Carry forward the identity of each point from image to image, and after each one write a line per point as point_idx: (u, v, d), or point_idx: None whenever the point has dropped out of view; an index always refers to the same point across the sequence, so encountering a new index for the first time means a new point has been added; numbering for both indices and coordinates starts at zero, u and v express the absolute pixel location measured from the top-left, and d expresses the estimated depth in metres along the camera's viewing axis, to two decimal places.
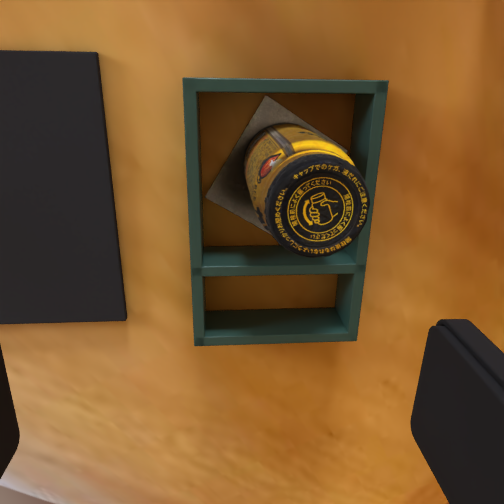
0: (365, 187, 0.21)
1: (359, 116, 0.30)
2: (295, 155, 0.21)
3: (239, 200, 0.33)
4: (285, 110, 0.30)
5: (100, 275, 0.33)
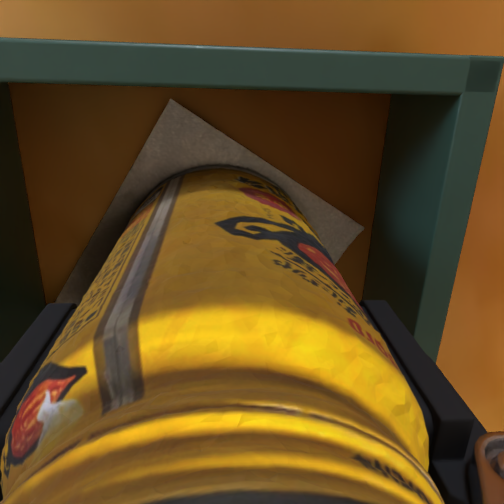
0: None
1: (402, 150, 0.12)
2: (109, 445, 0.04)
3: None
4: (220, 136, 0.13)
5: None
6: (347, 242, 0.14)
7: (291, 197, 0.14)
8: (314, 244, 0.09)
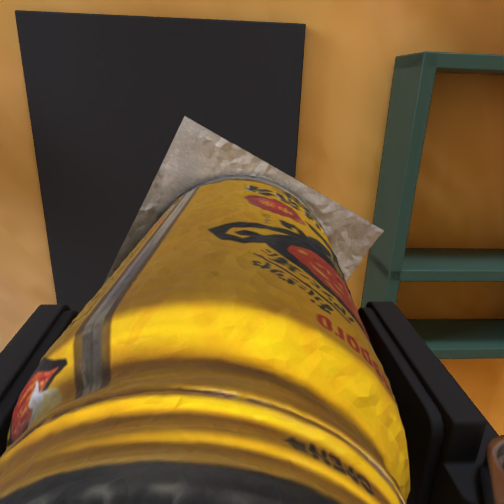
0: None
1: None
2: (65, 424, 0.04)
3: None
4: (234, 148, 0.13)
5: None
6: (367, 246, 0.14)
7: (307, 203, 0.14)
8: (310, 246, 0.09)
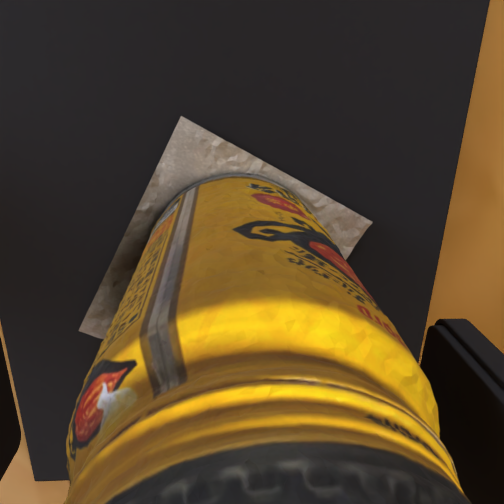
0: None
1: None
2: (165, 418, 0.05)
3: None
4: (230, 147, 0.14)
5: None
6: (357, 237, 0.15)
7: (300, 198, 0.14)
8: (324, 241, 0.09)
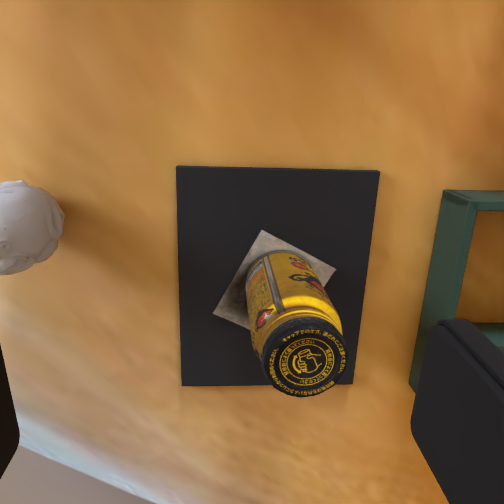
0: (343, 343, 0.25)
1: None
2: (284, 315, 0.26)
3: (243, 313, 0.37)
4: (279, 240, 0.35)
5: None
6: (330, 275, 0.36)
7: (306, 259, 0.36)
8: (314, 280, 0.31)
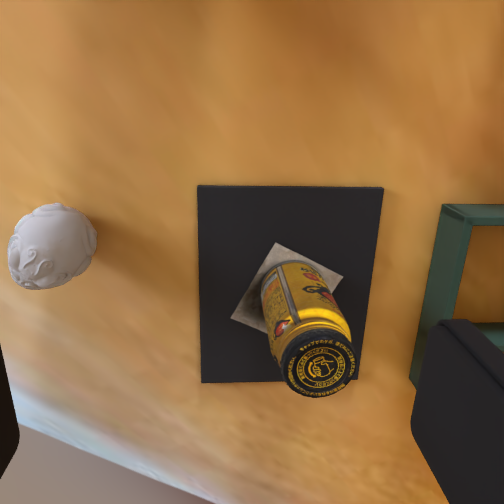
0: (352, 351, 0.29)
1: None
2: (300, 326, 0.29)
3: (258, 318, 0.41)
4: (291, 252, 0.38)
5: None
6: (337, 282, 0.40)
7: (316, 268, 0.39)
8: (325, 291, 0.34)
